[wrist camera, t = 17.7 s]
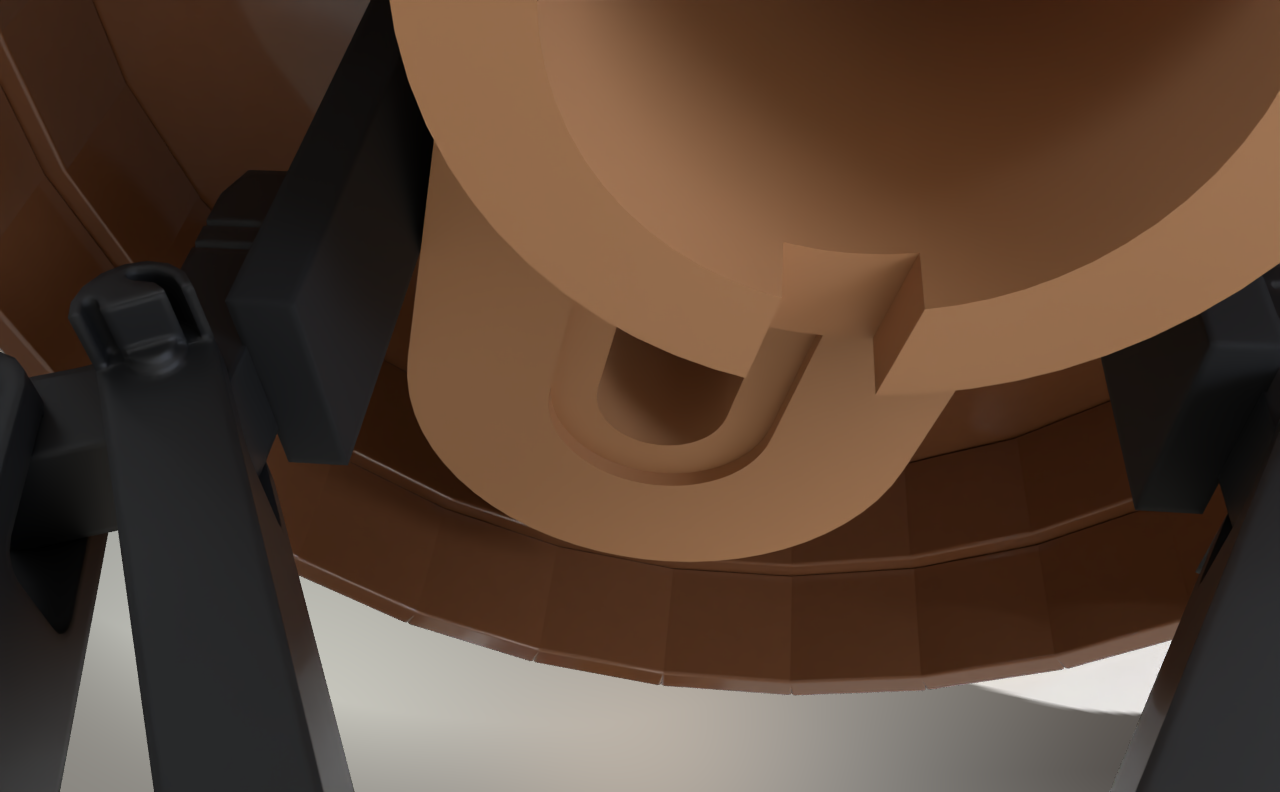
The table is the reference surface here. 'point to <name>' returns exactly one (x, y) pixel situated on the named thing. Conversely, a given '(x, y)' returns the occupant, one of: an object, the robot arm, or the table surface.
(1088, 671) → the table surface
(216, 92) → the brown shallow bowl
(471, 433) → the bracket
